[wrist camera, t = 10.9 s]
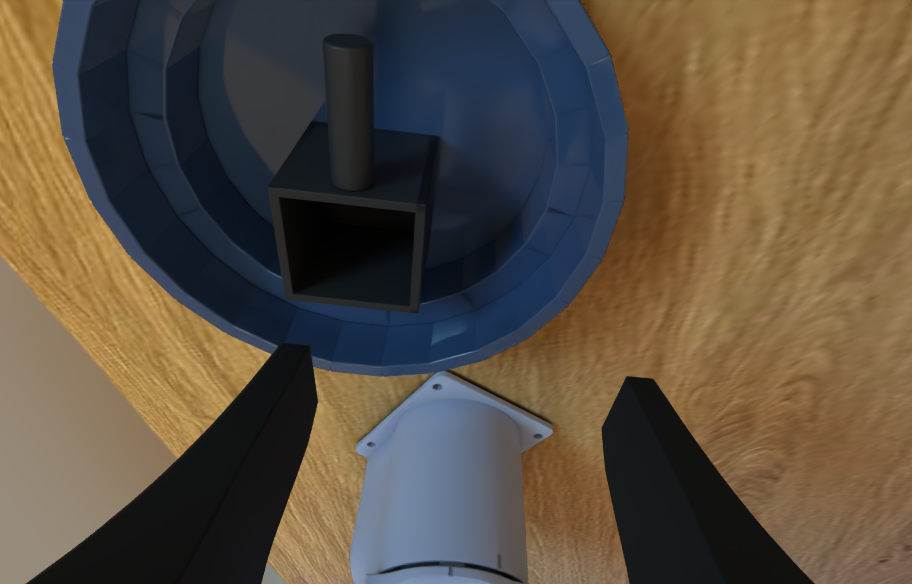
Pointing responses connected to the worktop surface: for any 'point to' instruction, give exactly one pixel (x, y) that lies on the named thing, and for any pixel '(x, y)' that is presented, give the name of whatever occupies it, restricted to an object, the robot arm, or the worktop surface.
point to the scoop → (354, 197)
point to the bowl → (395, 108)
